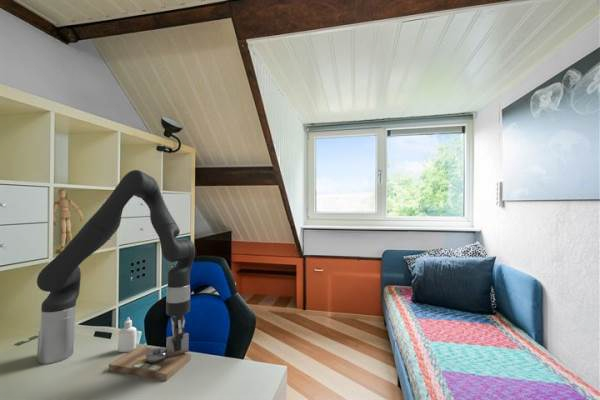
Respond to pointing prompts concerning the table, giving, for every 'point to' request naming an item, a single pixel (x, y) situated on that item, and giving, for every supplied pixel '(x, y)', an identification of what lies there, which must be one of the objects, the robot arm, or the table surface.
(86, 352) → the table surface
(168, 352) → the lever
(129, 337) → the eye dropper bottle
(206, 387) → the table surface
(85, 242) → the robot arm
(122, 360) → the stand
